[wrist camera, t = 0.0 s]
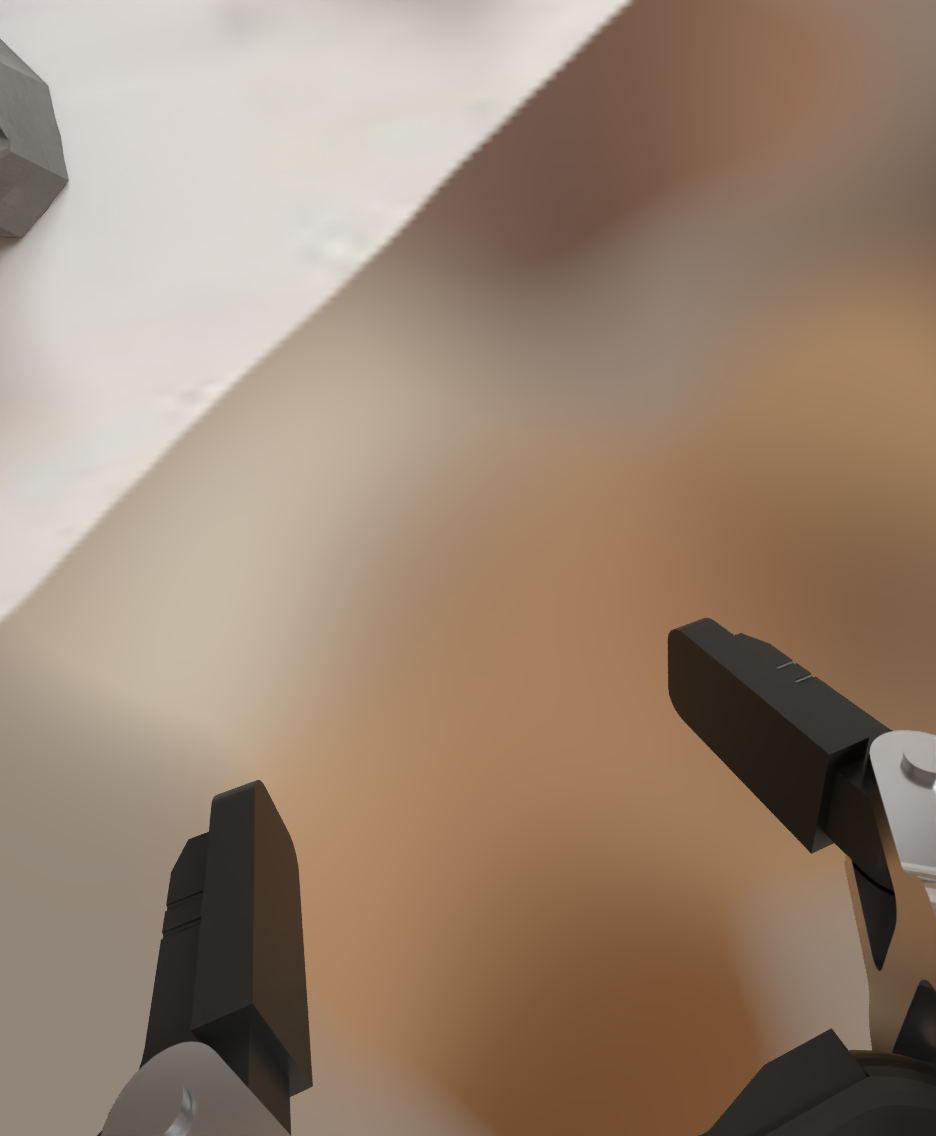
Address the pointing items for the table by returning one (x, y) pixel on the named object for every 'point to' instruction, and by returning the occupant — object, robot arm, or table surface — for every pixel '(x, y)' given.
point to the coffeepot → (26, 146)
